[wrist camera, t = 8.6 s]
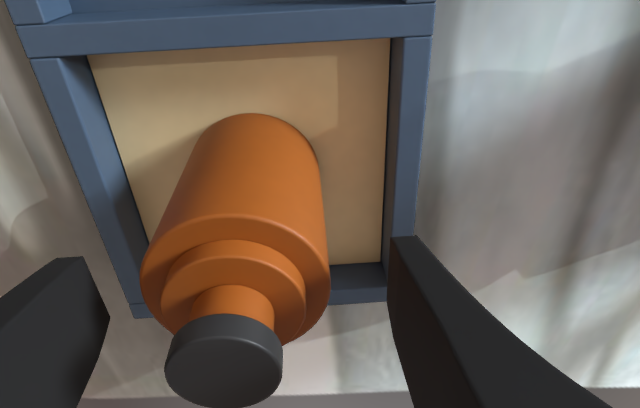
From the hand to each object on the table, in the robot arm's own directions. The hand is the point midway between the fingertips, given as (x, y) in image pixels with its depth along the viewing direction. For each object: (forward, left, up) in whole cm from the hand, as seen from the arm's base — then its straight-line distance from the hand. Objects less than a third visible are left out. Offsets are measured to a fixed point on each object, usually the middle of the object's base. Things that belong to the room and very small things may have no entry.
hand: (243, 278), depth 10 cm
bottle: (0, 0, -5) cm, 5 cm away
